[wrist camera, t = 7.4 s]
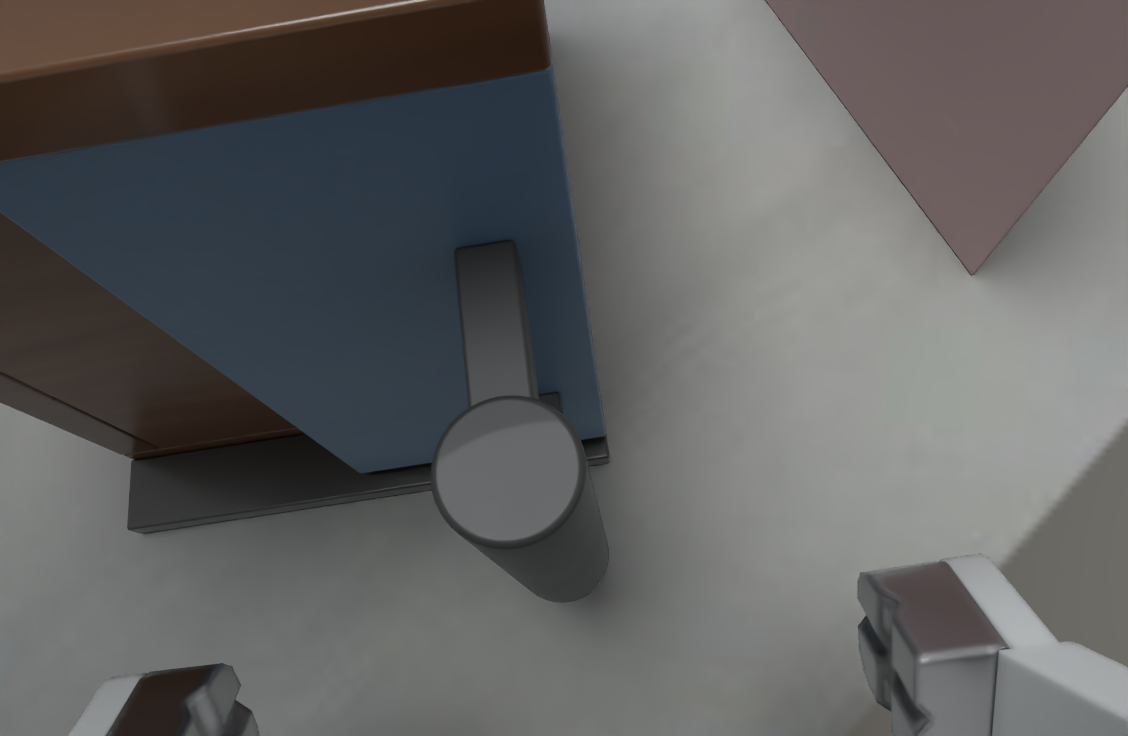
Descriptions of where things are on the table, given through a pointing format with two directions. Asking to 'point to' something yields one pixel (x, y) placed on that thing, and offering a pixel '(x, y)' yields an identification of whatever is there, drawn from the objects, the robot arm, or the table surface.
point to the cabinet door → (372, 292)
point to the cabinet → (183, 103)
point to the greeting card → (969, 95)
